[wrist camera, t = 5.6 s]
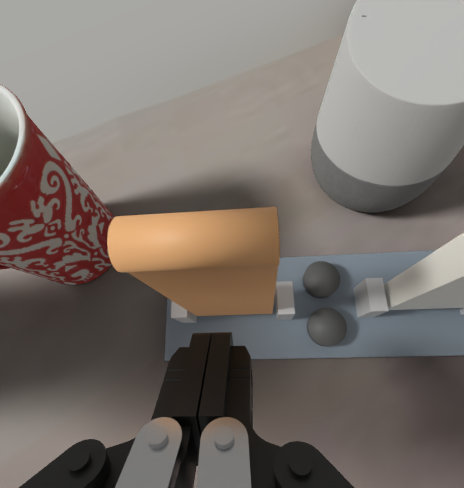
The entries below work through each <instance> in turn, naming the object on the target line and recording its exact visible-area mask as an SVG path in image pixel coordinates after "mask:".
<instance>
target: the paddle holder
mask: <svg viewBox="0 0 464 488" xmlns="http://www.w3.org/2000/svg"><path fill="white" fill-rule="evenodd" d="M434 251H436V250H431V251H410V252H388V253H367V254H346V255H324V256H303V257H281V258H280V263H279V265H278V272H277V281H276V289H275V297H274V305H273V313H272V314H248V315H216V316H196V315H194V314H192V313H191V312H189V311H188V310H186V309H184V308H183V307H181V306H180V305H178V304H177V303H175V302H173V301H172V300H170V299H169V298H167V316H166V336H165V355H164V361H170V359H171V357H172V355H173V354H174V353H175V352H176V351H177V349H178V348H179V347H189V345H190V341H191V337H192V334H193V333H213V332H232V337H233V346H245V347H246V348H247V350H248V352H249V354H250V356H251V359H300V358H352V357H405V356H458V355H464V308H440V309H408V310H388V305H387V300H386V294H385V289H384V284H385V283H387V282H388V281H390V280H391V279H393V278H394V277H396V276H397V275H399V274H401V273H402V272H404V271H405V270H407V269H408V268H410V267H411V266H413V265H414V264H416V263H417V262H419V261H421V260H422V259H424V258H425V257H427V256H428V255H430V254H431V253H433V252H434Z"/></svg>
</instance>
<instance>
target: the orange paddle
mask: <svg viewBox="0 0 464 488" xmlns="http://www.w3.org/2000/svg"><path fill="white" fill-rule="evenodd" d="M107 246H108V253H109V257H110V261H111V263H112V265H113V267H114V268H115V269H116V270H117V271H118V272H127V273H129V274H131V275H132V276H134V277H135V278H137V279H139V280H140V281H142V282H143V283H145V284H146V285H148V286H150V287H151V288H153V289H154V290H156V291H158V292H159V293H161V294H162V295H164V296H165V297H167V298H169V299H170V300H172V301H173V302H175V303H177V304H178V305H180V306H181V307H183V308H184V309H186V310H188V311H189V312H191V313H192V314H194V315H196V316H216V315H248V314H272V313H273V305H274V297H275V289H276V281H277V272H278V265H279V263H280V245H279V225H278V214H277V207H262V208H245V209H229V210H212V211H196V212H179V213H163V214H146V215H130V216H117V217H115V218H114V219H113V220H112V221H111V223H110V226H109V230H108V237H107Z"/></svg>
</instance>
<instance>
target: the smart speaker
mask: <svg viewBox="0 0 464 488" xmlns="http://www.w3.org/2000/svg"><path fill="white" fill-rule="evenodd" d="M463 146H464V0H357V1H356V3H355V5H354V7H353V9H352V12H351V14H350V17H349V20H348V23H347V26H346V29H345V32H344V35H343V39H342V42H341V45H340V48H339V51H338V54H337V57H336V61H335V64H334V67H333V70H332V73H331V76H330V80H329V83H328V86H327V89H326V92H325V95H324V99H323V102H322V105H321V108H320V111H319V114H318V118H317V121H316V125H315V129H314V134H313V139H312V146H311V160H312V167H313V171H314V174H315V177H316V179H317V182H318V183H319V185H320V187H321V188H322V189H323V191H324V192H325V193H326V194H327V195H328V196H329V197H330V198H331V199H333V200H334V201H335V202H337V203H338V204H340V205H342V206H344V207H346V208H349V209H352V210H355V211H360V212H383V211H388V210H392V209H395V208H398V207H400V206H403V205H405V204H407V203H408V202H410V201H412V200H414V199H415V198H417V197H418V196H419V195H421V194H422V193H423V192H424V191H426V190H427V189H428V188H429V187H430V186H431V185H432V184H433V183H434V182H435V181H436V180H437V178H438V177H439V176H440V175H441V174H442V173H443V172H444V170H445V169H446V168H447V167H448V166H449V164H450V163H451V162H452V160H453V159H454V158H455V156H456V155H457V154H458V152H459V151H460V150H461V148H462V147H463Z"/></svg>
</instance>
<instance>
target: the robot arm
mask: <svg viewBox="0 0 464 488" xmlns="http://www.w3.org/2000/svg"><path fill="white" fill-rule="evenodd" d="M196 466H198V476H197V488H354V487H353V486H352V485H351V484H350V483H349V482H348V481H347V480H346V479H345V478H344V477H343V476H342V475H341V474H340V472H339V471H338V470H337V469H336V468H335V467H334V466H333V465H332V464H331V463H330V462H329V461H328V460H327V459H326V458H325V457H324V456H323V455H322V454H321V453H320V452H319V451H318V450H317V449H316V448H315V447H313V446H312V445H310V444H308V443H305V442H299V441H294V442H289V443H287V444H285V445H284V446H282V447H280V446H277V445H274V444H271V443H269V442H266V441H264V440H263V439H261V438H260V437H259V436H258V435H257V434H256V433H255V431H254V430H253V382H252V369H251V356H250V354H249V352H248V350H247V348H246V347H245V346H233V337H232V332H213V333H193V334H192V337H191V341H190V345H189V347H179V348H178V349H177V351H176V352H175V353H174V354H173V355H172V357H171V359H170V362H169V365H168V368H167V371H166V375H165V378H164V381H163V384H162V387H161V391H160V394H159V397H158V400H157V403H156V407H155V410H154V413H153V416H152V419H151V421H150V422H148V423H147V424H145V425H144V426H143V427H142V428H141V429H140V431H139V432H138V434H137V436H136V438H134V439H132V440H130V441H128V442H125V443H122V444H119V445H116V446H113V447H109V448H106V449H105V447H104V445H103V444H102V443H101V442H100V441H98V440H95V439H88V440H83V441H81V442H78V443H76V444H74V445H73V446H71V447H70V448H69V449H67V450H66V451H65V452H64V453H62V454H61V455H60V456H59V457H57V458H56V459H55V460H53V461H52V462H51V463H50V464H48V465H47V466H46V467H45V468H43V469H42V470H41V471H39V472H38V473H37V474H36V475H34V476H33V477H32V478H31V479H29V480H28V481H27V482H26V483H24V484H23V485H22V486H20V487H19V488H194V479H195V472H196Z"/></svg>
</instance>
